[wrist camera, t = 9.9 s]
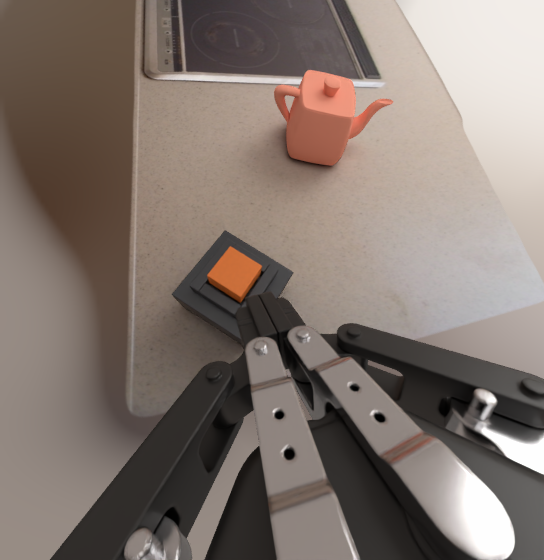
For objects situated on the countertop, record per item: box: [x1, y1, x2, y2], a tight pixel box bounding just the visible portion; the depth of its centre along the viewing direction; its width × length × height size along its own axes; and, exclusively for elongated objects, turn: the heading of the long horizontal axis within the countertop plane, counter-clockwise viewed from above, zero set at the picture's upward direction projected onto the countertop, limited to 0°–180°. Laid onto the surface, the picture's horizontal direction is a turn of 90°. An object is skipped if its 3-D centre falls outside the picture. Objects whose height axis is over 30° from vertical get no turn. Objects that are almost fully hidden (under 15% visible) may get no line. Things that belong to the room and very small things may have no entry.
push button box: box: [172, 230, 293, 344], centre depth 29 cm, size 10×10×7 cm
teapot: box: [274, 70, 393, 165], centre depth 39 cm, size 12×18×10 cm, turn 84°
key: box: [207, 246, 262, 303], centre depth 25 cm, size 4×4×2 cm
